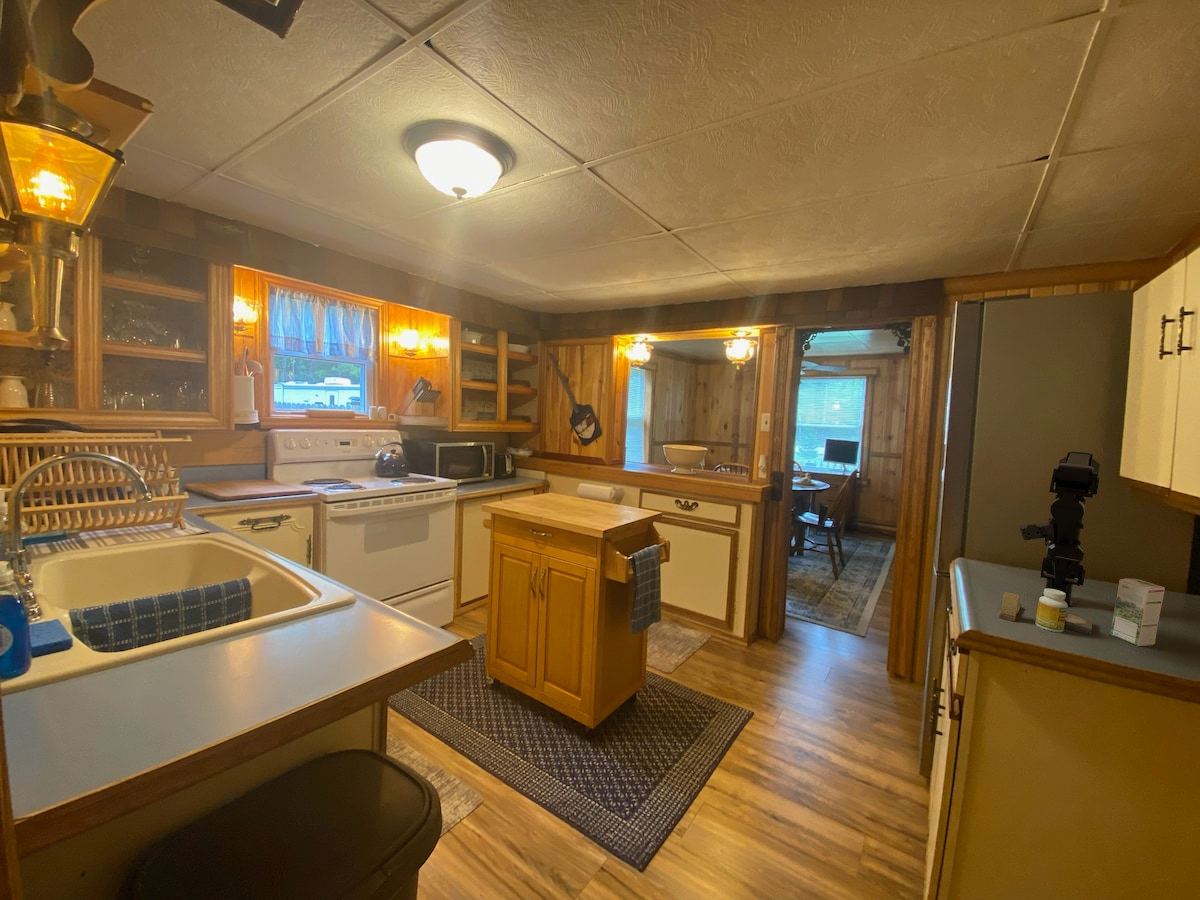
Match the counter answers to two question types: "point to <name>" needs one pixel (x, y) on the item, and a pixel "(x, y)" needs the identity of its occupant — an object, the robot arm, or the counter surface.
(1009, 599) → the handle
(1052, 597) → the supplement bottle
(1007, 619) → the rail
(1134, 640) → the syrup box
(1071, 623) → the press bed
